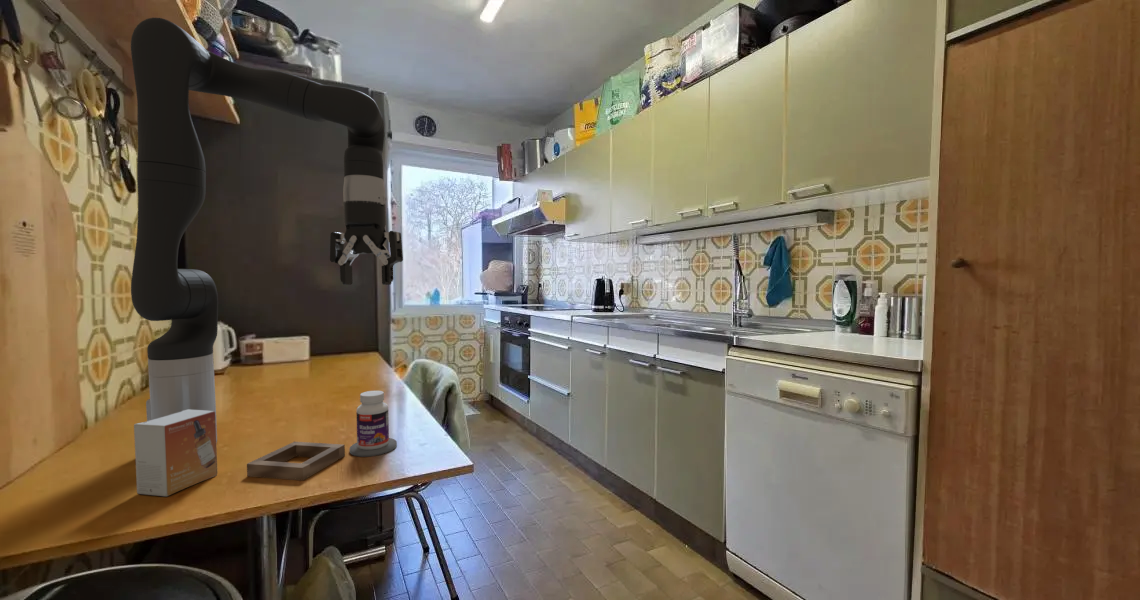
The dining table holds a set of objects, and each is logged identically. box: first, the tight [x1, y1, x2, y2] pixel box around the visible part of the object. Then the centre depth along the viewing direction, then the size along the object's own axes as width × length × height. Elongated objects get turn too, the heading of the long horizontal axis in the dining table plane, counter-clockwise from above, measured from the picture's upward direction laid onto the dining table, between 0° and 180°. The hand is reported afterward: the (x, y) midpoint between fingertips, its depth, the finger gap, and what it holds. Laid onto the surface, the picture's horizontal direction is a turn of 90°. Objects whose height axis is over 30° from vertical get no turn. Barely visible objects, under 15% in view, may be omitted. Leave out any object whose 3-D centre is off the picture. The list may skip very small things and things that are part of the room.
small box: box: [133, 409, 218, 497], centre depth 70 cm, size 8×6×10 cm
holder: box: [246, 441, 346, 481], centre depth 77 cm, size 10×10×2 cm
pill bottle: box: [356, 390, 390, 450], centre depth 84 cm, size 5×5×10 cm
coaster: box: [349, 437, 398, 458], centre depth 85 cm, size 8×8×1 cm
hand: (367, 284), depth 91 cm, fingers open, 8 cm apart
